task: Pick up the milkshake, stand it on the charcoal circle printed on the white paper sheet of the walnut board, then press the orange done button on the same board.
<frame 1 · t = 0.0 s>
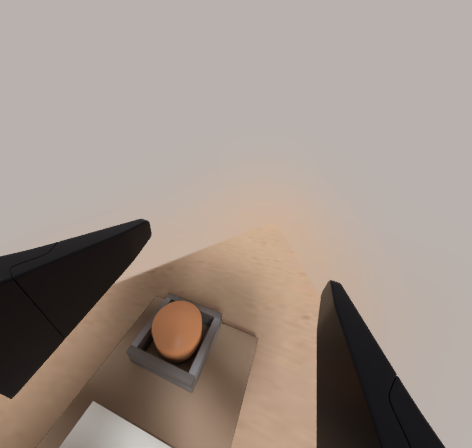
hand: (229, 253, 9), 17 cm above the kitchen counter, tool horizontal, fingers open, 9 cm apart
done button: (178, 330, 19), point 3 cm above the kitchen counter, slide at 0.0 cm
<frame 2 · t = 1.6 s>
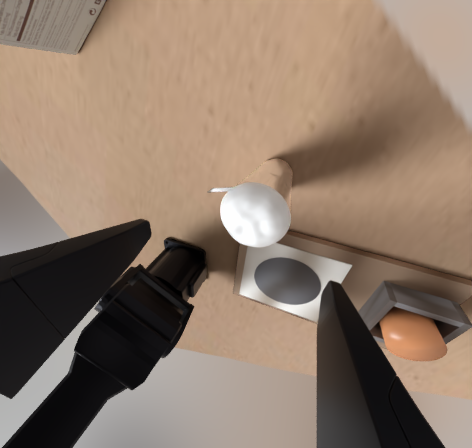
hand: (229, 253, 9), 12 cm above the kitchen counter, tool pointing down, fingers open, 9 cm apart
board: (324, 286, 24), on the kitchen counter
milkshake: (273, 170, 19), on the kitchen counter
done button: (408, 331, 19), point 3 cm above the kitchen counter, slide at 0.0 cm
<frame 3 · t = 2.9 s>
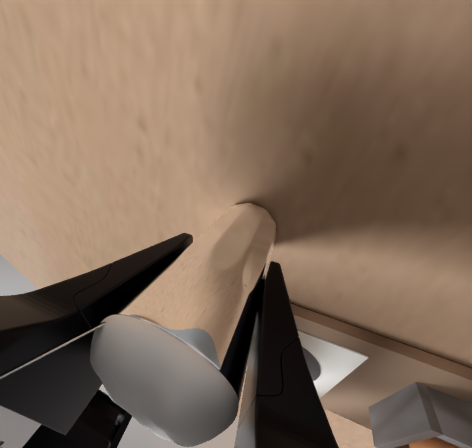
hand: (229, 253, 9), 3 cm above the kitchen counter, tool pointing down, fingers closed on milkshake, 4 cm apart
board: (325, 365, 17), on the kitchen counter
milkshake: (247, 219, 12), on the kitchen counter, touching gripper
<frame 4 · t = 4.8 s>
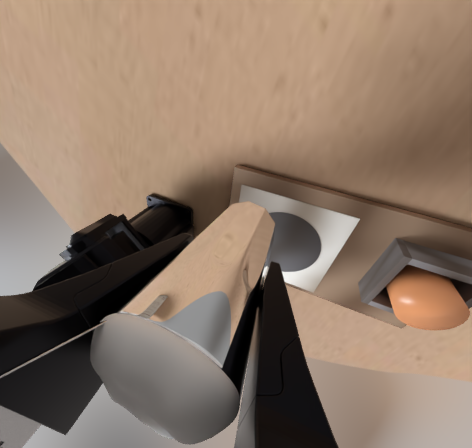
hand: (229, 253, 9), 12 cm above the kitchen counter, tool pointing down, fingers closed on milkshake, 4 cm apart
board: (325, 249, 21), on the kitchen counter
milkshake: (246, 218, 12), point 9 cm above the kitchen counter, touching gripper
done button: (421, 296, 17), point 3 cm above the kitchen counter, slide at 0.0 cm
when the fingers open (5 cm above the kitchen counter, at t = 6.8 s): milkshake drops 1 cm, resting on board.
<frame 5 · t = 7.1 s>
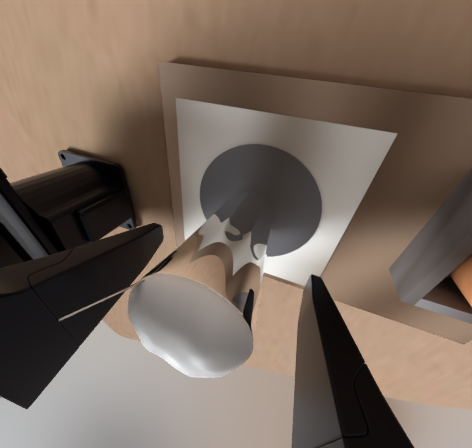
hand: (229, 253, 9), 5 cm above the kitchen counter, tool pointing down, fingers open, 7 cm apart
board: (329, 213, 12), on the kitchen counter
milkshake: (248, 206, 13), point 1 cm above the kitchen counter, touching board
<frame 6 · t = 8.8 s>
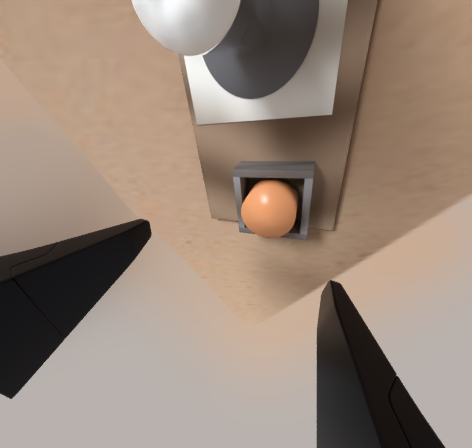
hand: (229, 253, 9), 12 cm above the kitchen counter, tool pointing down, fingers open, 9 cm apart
board: (265, 104, 16), on the kitchen counter
milkshake: (252, 15, 13), point 1 cm above the kitchen counter, touching board
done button: (270, 206, 17), point 3 cm above the kitchen counter, slide at 0.0 cm
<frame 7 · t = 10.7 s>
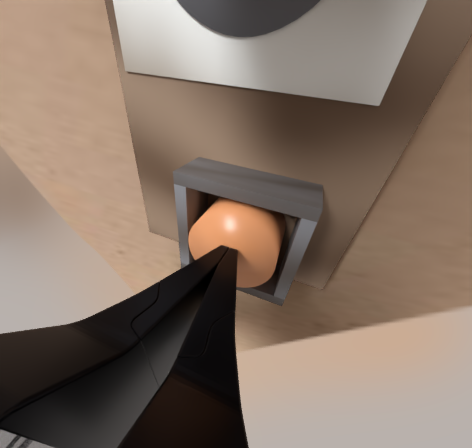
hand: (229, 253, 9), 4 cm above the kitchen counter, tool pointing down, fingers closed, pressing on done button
board: (255, 58, 8), on the kitchen counter
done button: (239, 236, 11), point 2 cm above the kitchen counter, slide at 1.0 cm, touching gripper
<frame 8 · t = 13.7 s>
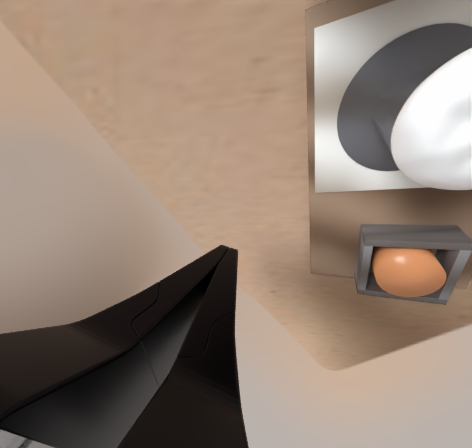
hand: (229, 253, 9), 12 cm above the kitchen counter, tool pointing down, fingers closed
board: (397, 172, 16), on the kitchen counter
milkshake: (407, 100, 13), point 1 cm above the kitchen counter, touching board
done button: (402, 265, 17), point 2 cm above the kitchen counter, slide at 1.0 cm, touching board
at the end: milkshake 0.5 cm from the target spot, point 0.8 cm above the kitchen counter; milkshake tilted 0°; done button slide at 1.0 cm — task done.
